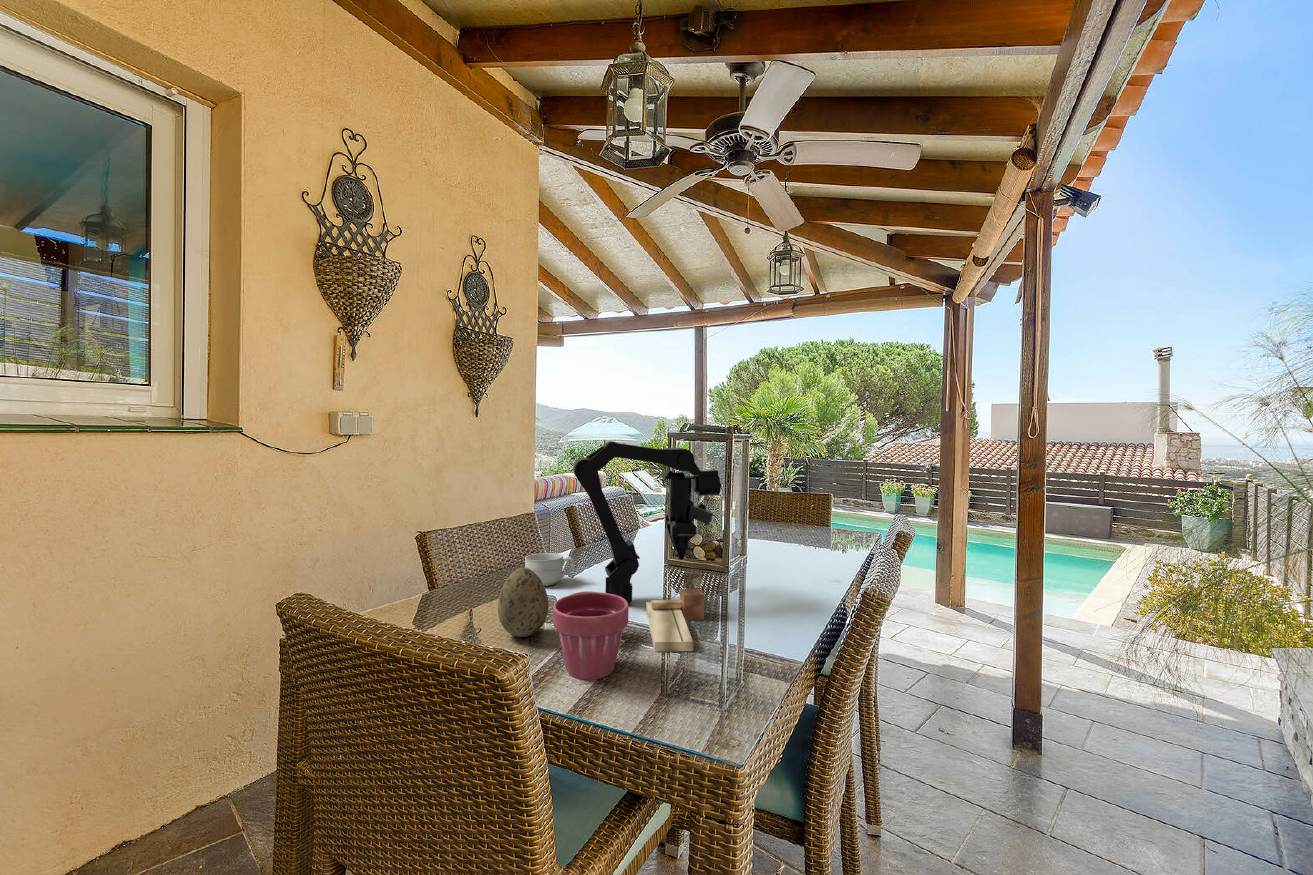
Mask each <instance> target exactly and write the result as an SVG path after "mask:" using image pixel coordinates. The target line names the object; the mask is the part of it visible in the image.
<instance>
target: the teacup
mask: <svg viewBox="0 0 1313 875" xmlns="http://www.w3.org/2000/svg"><path fill="white" fill-rule="evenodd" d="M524 560H525V561H524V562H525V566H524V567H525V568H529V569H531V570H532V571H533V572H535V573H536V575H537V576H538V577H539V578H540V580H541V581H542V583H543V585H544V587H549V586H553V585H555V584H557V583H558V581H559V580H561V579H562V578H565V576H566V575H567V574H569V573H570V572H571V571H572V570H573V569H574V568H575V563H576V562H575V560H574V558H572V557H570V556H566V557H564V556H563V554H561V553H554V552H544V553H543V552H541V553H532V554H529V555H527V556H525V557H524ZM567 561H568V562H570V563H571V565H570V567H569V568H567V569H566V570H564V568H563V567H564V566H565V563H566V562H567Z"/></svg>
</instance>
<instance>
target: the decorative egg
mask: <svg viewBox="0 0 1313 875" xmlns="http://www.w3.org/2000/svg"><path fill="white" fill-rule="evenodd" d="M545 587H546V586H544V585H543V583H542V581H541V580H540V578H539V577H538V576H537V575H536V573H535V572H533V571H532V570H531V569H529V568H525V566H523V567H522V566H521V567H518V568H517V569H515V570H514V571H513V572H511V573H510V575H509V576H508V577H507V579H506V580H505V582H504V583H503V585H502V588H501V590H500V594H499V597H498V600H497V601H498V602H497V614H498V619H499V622H500V624H501V626H502V627H503V629H504V630H505V631H506V632H507V633H508V634H510V635H512V636H514V637H516V636H517V638H525V637H526V638H527V637H530V636H533V635H534V634H536V633H537V632H538V631H539V630H540V629H541V628H542V627H543V625H544V624H545V622H546V620H547V617H548V613H549V596H548V593H547V590H546V588H545Z"/></svg>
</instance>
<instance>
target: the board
mask: <svg viewBox="0 0 1313 875" xmlns="http://www.w3.org/2000/svg"><path fill="white" fill-rule="evenodd" d="M645 611H646V616H647V618H646V619H647V622H648V627H649V632H650V637H651V642H652V646H653V651H654V652H655V653H657V652H659V653H660V652H662V653H663V652H666V653H667V652H693V651H694V641H693V640H694V639H693V638H692V636H691V632H690V630H689V627H688V625H687V621H686V620H685V619H684V616H683V614H682V611H681V609H680V608H664V609H652V608H651V601H646V602H645Z"/></svg>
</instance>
